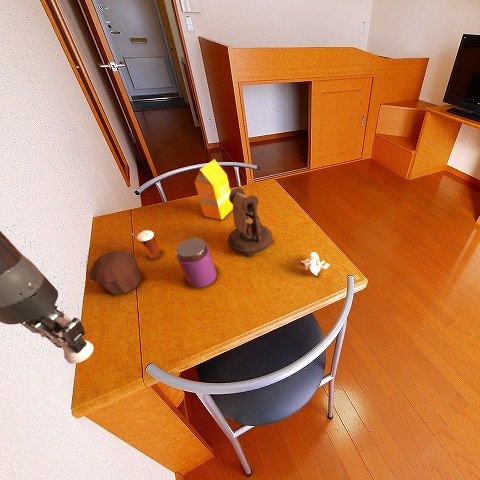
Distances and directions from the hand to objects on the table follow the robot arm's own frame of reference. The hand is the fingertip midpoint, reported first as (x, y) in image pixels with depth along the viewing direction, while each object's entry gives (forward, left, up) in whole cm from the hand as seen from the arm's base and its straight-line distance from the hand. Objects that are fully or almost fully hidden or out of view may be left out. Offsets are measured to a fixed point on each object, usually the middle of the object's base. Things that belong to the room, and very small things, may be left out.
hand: (72, 345), depth 53 cm
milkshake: (+34, +16, -12) cm, 39 cm away
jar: (+31, -4, -12) cm, 33 cm away
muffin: (+22, +16, -12) cm, 30 cm away
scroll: (+49, -11, -12) cm, 52 cm away
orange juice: (+62, +9, -12) cm, 64 cm away
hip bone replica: (+44, -35, -12) cm, 58 cm away
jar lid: (+31, -4, 0) cm, 31 cm away
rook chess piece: (0, 0, -3) cm, 3 cm away
